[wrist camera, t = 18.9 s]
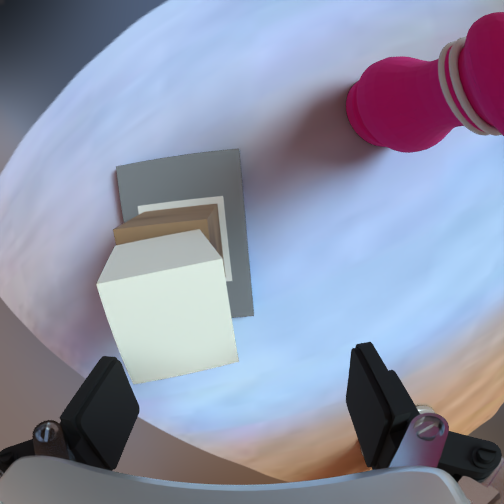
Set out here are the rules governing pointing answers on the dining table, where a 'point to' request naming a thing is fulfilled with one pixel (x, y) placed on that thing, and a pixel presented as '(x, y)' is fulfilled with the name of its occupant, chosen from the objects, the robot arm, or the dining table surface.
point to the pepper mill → (433, 92)
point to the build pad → (192, 194)
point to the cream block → (168, 306)
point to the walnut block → (173, 225)
